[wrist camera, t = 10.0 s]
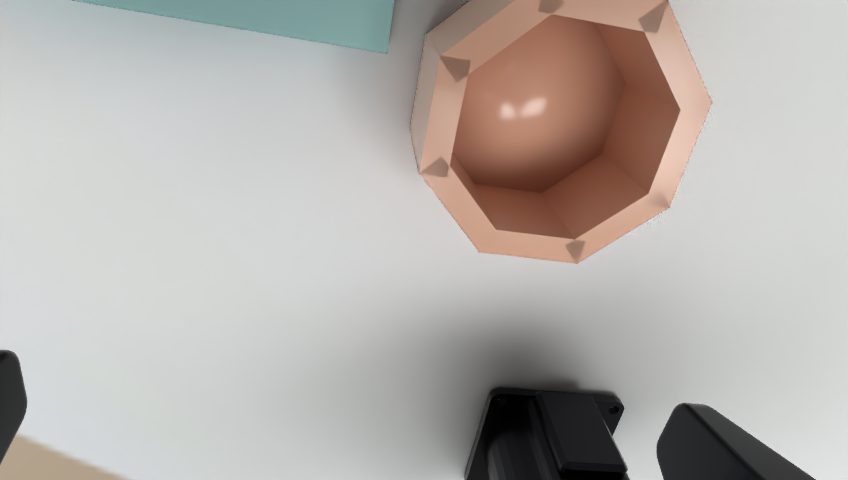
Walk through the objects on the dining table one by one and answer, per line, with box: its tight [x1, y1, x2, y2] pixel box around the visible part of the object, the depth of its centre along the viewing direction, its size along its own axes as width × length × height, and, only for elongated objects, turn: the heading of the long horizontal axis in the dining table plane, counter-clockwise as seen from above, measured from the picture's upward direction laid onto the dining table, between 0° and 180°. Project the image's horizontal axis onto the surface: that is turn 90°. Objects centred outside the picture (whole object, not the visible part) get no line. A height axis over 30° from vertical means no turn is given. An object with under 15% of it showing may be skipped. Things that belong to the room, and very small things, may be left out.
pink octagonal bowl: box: [410, 0, 712, 264], centre depth 17 cm, size 8×8×4 cm
